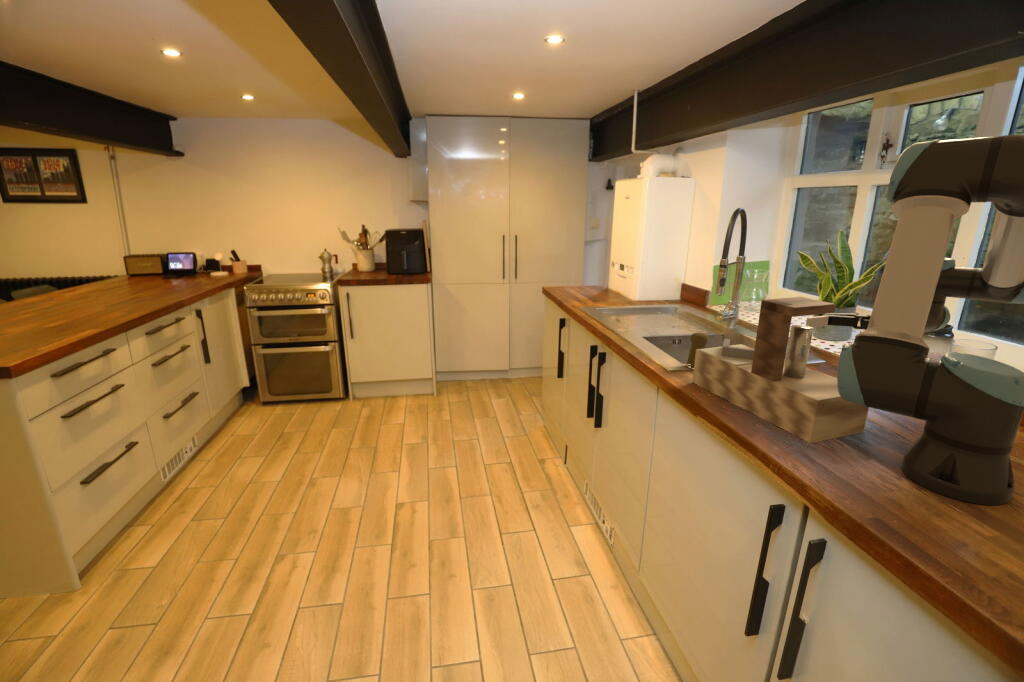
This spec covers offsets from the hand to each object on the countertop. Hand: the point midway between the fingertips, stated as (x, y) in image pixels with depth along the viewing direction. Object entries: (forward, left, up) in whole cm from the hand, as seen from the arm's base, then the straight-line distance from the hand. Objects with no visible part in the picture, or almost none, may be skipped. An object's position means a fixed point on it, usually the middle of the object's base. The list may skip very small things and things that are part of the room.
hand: (832, 329), depth 113 cm
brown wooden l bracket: (-6, +11, -10) cm, 16 cm away
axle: (-5, +9, -10) cm, 14 cm away
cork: (+27, +25, -21) cm, 42 cm away
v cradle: (+10, +17, -10) cm, 22 cm away
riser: (0, +12, -20) cm, 23 cm away
